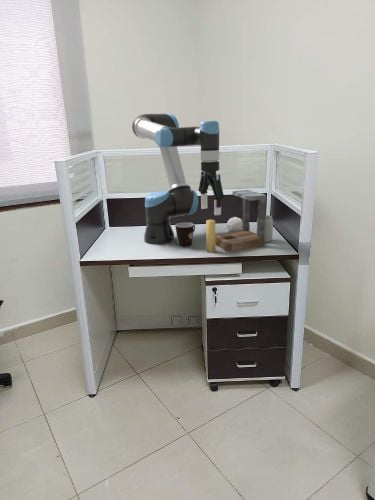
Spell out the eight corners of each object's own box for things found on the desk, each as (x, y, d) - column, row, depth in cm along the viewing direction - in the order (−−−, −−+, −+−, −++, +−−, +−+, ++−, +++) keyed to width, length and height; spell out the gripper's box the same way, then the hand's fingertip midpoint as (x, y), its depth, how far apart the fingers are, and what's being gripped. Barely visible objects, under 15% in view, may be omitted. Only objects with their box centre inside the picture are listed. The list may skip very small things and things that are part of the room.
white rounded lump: (226, 233, 173) (250, 235, 174) (228, 215, 173) (252, 217, 173) (224, 234, 182) (246, 236, 182) (225, 216, 182) (248, 218, 182)
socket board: (211, 242, 167) (211, 193, 159) (246, 236, 174) (247, 189, 166) (227, 252, 153) (227, 199, 145) (264, 246, 160) (266, 195, 152)
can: (272, 243, 163) (273, 218, 159) (256, 242, 165) (256, 218, 161) (271, 238, 170) (273, 214, 166) (256, 237, 171) (257, 214, 167)
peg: (205, 250, 157) (204, 220, 152) (213, 249, 158) (212, 219, 154) (208, 253, 154) (208, 222, 149) (216, 251, 155) (216, 221, 150)
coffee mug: (181, 249, 159) (180, 228, 156) (173, 244, 167) (172, 224, 163) (203, 244, 164) (202, 224, 161) (194, 240, 172) (193, 220, 168)
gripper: (232, 162, 133) (232, 216, 140) (206, 158, 155) (206, 205, 162) (214, 164, 130) (215, 219, 138) (190, 159, 152) (191, 207, 160)
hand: (210, 211), depth 150 cm, fingers open, 13 cm apart
